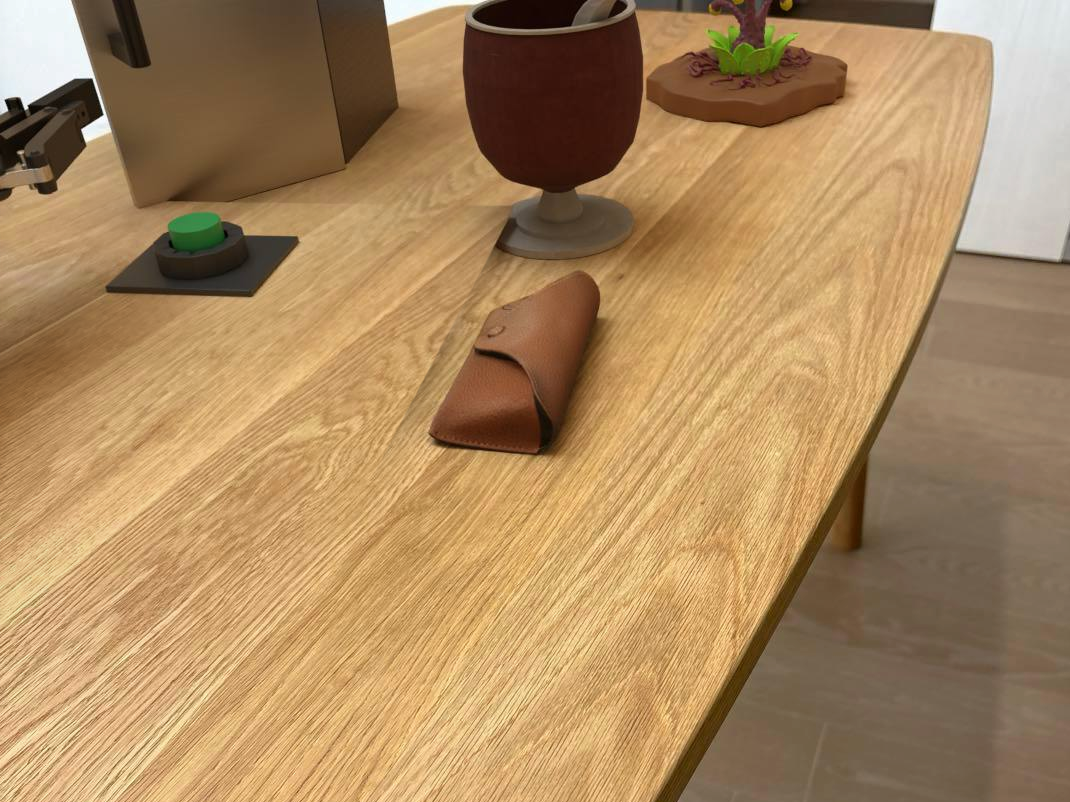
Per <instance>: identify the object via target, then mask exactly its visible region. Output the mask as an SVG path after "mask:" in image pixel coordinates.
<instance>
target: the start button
mask: <svg viewBox="0 0 1070 802" xmlns="http://www.w3.org/2000/svg"><path fill="white" fill-rule="evenodd" d="M221 221H222V220H221V217H220V215H219V214H217V213H215V212H210V211H196V212H195V211H194V212H190V213H186V214H182V215H180V216H177V217H175V218H173V219H172V220H171V221H169V222H168V223H167V230H168V231H169V234H170V237H171V241H172V244H173V248H174V249H175V250H178V251H196V250H202V249H207V248H211V247H213V246H216V245H218V244H220V243H222V242H223V241H224V240H225V235H224V231H223V227H222V223H221Z"/></svg>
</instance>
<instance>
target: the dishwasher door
mask: <svg viewBox="0 0 1070 802" xmlns="http://www.w3.org/2000/svg"><path fill="white" fill-rule="evenodd" d="M70 1H71V5H72V8H73V12H74V14H75V18H76V21H77V25H78V28H79V31H80V34H81V37H82V40H83V41H82V42H83V43H84V47H85V50H86V54H87V57H88V60H89V64H90V66H91V68H92V74H93V76H94V79H95V83H96V85H97V89H98V92H99V96H100V99H101V103H102V105H103V109H104V112H105V115H106V119H107V122H108V125H109V128H110V132H111V134H112V138H113V141H114V144H115V147H116V151H117V153H118V157H119V160H120V163H121V167H122V170H123V173H124V177H125V180H126V183H127V186H128V189H129V193H130V197H131V199H132V203H133V206H135V208H136V209H138V210H139V209H140V210H141V209H143V208H147V207H151V206H154V205H158V204H162V203H166V202H175V203H176V202H182V203H183V202H185V203H228V202H231V201H234V200H238V199H242V198H245V197H249V196H253V195H255V194H256V195H257V194H260V193H263V192H268V191H270V190H274V189H278V188H282V187H285V186H288V185H293V184H296V183H299V182H303V181H306V180H310V179H314V178H317V177H321V176H325V175H328V174H331V173H335V172H339V171H342V170H346V169H347V166H346V165H345V160H344V154H343V149H342V143H341V137H340V132H339V126H338V120H337V115H336V109H335V104H334V98H333V92H332V87H331V81H330V75H329V70H328V64H327V58H326V53H325V47H324V41H323V36H322V30H321V24H320V19H319V13H318V7H317V2H316V0H70Z"/></svg>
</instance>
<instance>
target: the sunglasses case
mask: <svg viewBox="0 0 1070 802" xmlns="http://www.w3.org/2000/svg"><path fill="white" fill-rule="evenodd" d="M600 306H601V291H600V288H599V286H598V284H597V282H596V281H595V279H594V278H593V277H592V276H591V275H590V274H589V273H587V272H586V271H583V270H580V269H577V270H574V271H571V272H570V273H568V274H565V275H563V276H561V277H559V278H557V279H556V280H553V281H552V282H550V283H548V284H546V285H545V286H543V287H542V288H540V289H538V290H537V291H536V292H534V293H532V294H528V295H527V296H524V297H521V298H519V299H517V300H513V301H511V302H508V303H506V304H503V305H500V306H498V307H496V308H493V309H492V310H491V311H490V312H489V313H488V314H487V317H486V319H485V320H484V322H483V325H482V327H481V328H480V331H479V333H478V335H477V337H476V339H475V341H474V343H473V345H472V347H471V349H470V350H469V353H468V355H467V357H466V359H465V360H464V362H463V364H462V366H461V368H460V369H459V372H458V373H457V376H456V377H455V378H454V380H453V382H452V384H451V387H450V388H449V390H448V392H447V393H446V395H445V397H444V399H443V401H442V402H441V403H440V406H439V408H438V409H437V410H436V413H435V415H434V416H433V420H432V421H431V424H430V426H429V429H428V432H427V433H428V436H430V437H431V438H433V439H434V440H436V441H438V442H441V443H446V444H450V445H454V446H459V447H465V448H470V449H476V450H485V451H494V452H502V453H503V452H504V453H512V454H513V453H515V454H524V455H525V454H531V455H537V454H540V453H542V452H545V451H547V450H548V449H549V448H550V447H551V446H552V445H553V444H554V443H555V442H556V440H557V438H558V436H559V433H560V431H561V427H562V424H563V421H564V418H565V415H566V411H567V408H568V404H569V401H570V398H571V394H572V392H573V389H574V386H575V382H576V380H577V376H578V372H579V370H580V367H581V363H582V359H583V356H584V354H585V352H586V348H587V346H588V341H589V339H590V335H591V333H592V330H593V327H594V324H595V323H596V319H597V317H598V313H599V310H600Z"/></svg>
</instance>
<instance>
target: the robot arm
mask: <svg viewBox="0 0 1070 802" xmlns="http://www.w3.org/2000/svg"><path fill="white" fill-rule="evenodd" d="M97 91H98V90H97V87H96V85H95V82H94V79H93V78H92V77H88V78H87V77H83V78H77V77H75V78H73V79H71V80H70V81H68V82H65V83H64V84H63V85H60V86H59V87H57V88H55V89H54V90H51V91H49V92H48V93H46V94H45V95H43V96H41V97H39V98H38V99H35V100H33V102H31V103H28V104H27V105H26V106H27V108H25V107H24V103H23V100H22V98H21V97H20V96H12V97H7V98H5V99H4V103H5V106H6V108H7V111H5V112H3V113H1V114H0V203H1V202H4V201H6V200H7V199H9V198H10V197H11V196H12V194H13V190H14V189H16V188H18V187H24V186H28V189H29V190H31V191H36V190H37V192H38V194H39V195H43V196H46V195H52V194H54V193H56V192H57V191H58V189H59V188H58V180H59V179H60V178H61V177H62V176H63V174H65V172H67V170H68V169H69V167H71V165H73V163H74V162H75V161H76V160H77V158H78V157H79V156H80V155H81V154H82V152H83V151H85V149H86V148H87V142H86V140H85V139H86V138H85V137H84V133H83V131H82V130H83V129H85V128H86V127H87V126H89V125H91V124H92V123H93V122H95V121H97V120H99V119H100V118H101V117H103V116H105V114H104V111H103V108H102V104H101V101H100V98H99V95H98V92H97Z"/></svg>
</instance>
